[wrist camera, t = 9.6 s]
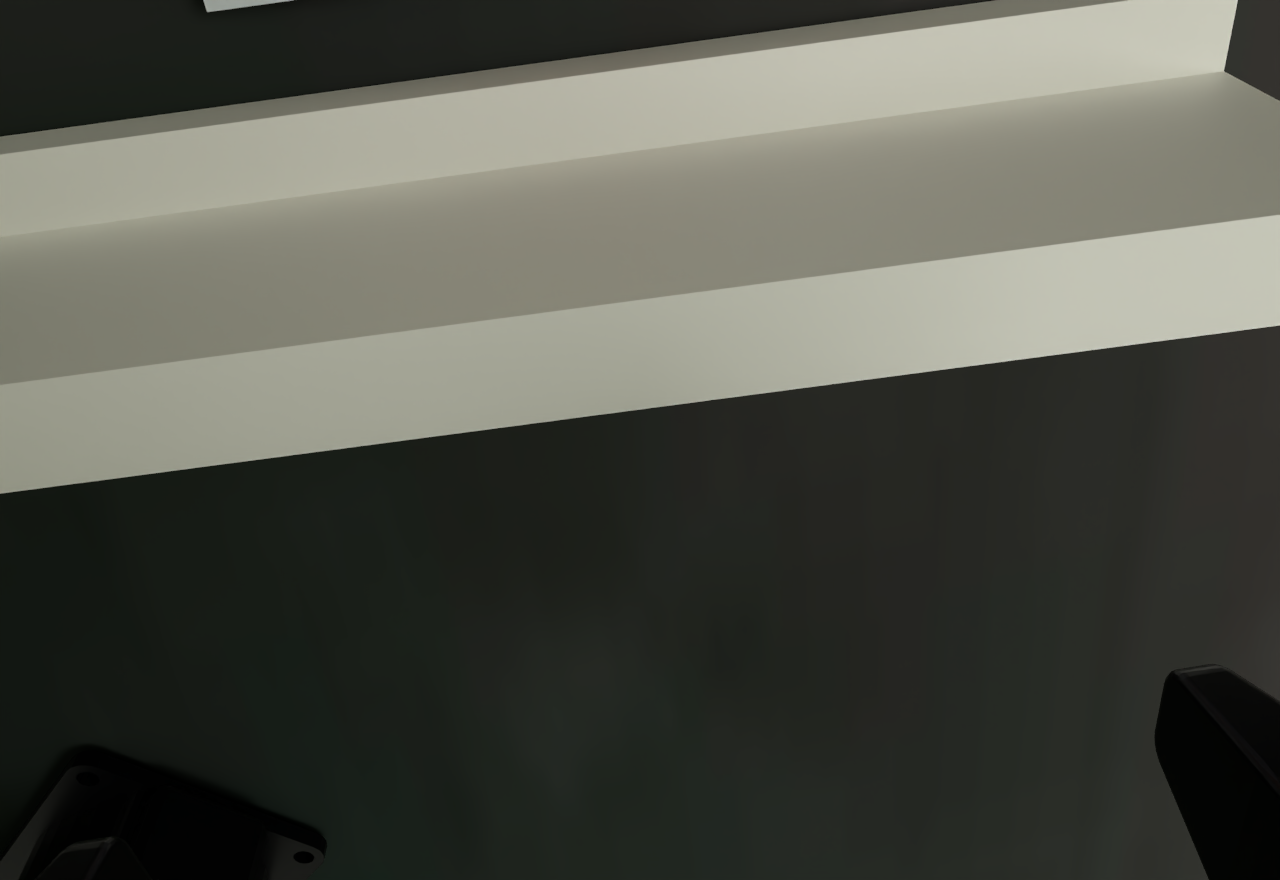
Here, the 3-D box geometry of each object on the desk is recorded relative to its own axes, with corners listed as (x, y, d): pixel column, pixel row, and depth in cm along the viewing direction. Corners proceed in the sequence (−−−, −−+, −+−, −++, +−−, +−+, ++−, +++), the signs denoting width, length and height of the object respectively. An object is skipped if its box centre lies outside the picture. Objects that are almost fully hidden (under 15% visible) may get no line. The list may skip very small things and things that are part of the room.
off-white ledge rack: (1163, 213, 19) (1381, 393, 14) (48, 362, 19) (-134, 591, 14) (1206, -29, 16) (1487, 81, 11) (-62, 145, 17) (-326, 326, 12)
